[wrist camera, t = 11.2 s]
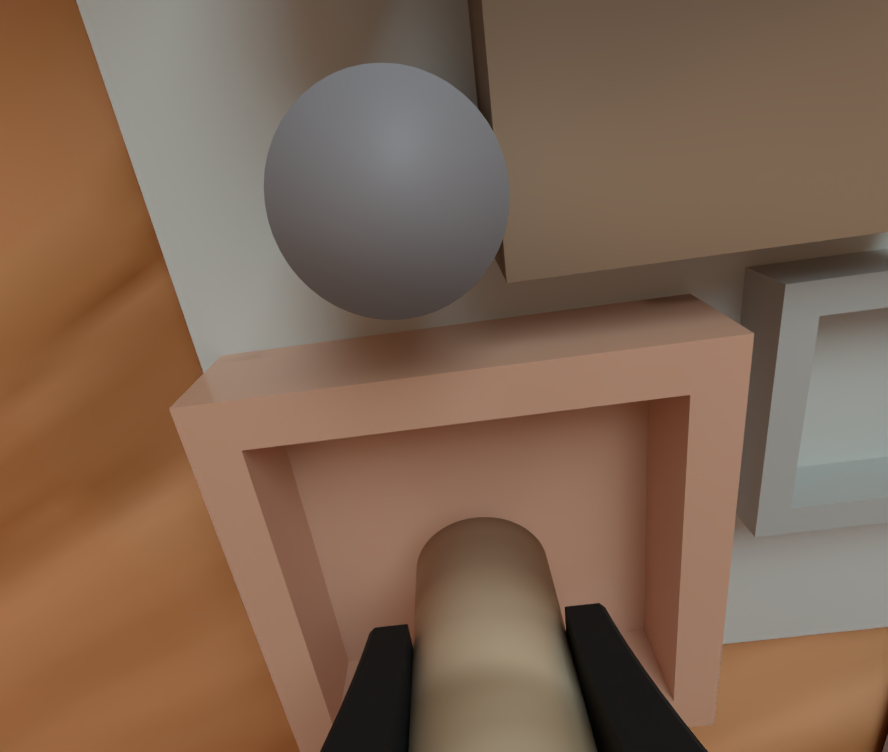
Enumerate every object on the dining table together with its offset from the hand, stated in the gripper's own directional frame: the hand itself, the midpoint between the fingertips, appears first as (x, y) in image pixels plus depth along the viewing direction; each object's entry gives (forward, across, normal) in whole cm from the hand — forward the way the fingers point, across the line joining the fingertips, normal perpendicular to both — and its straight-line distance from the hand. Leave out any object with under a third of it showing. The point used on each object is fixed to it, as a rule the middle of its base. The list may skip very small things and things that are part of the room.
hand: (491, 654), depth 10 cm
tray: (+4, 0, 0) cm, 4 cm away
